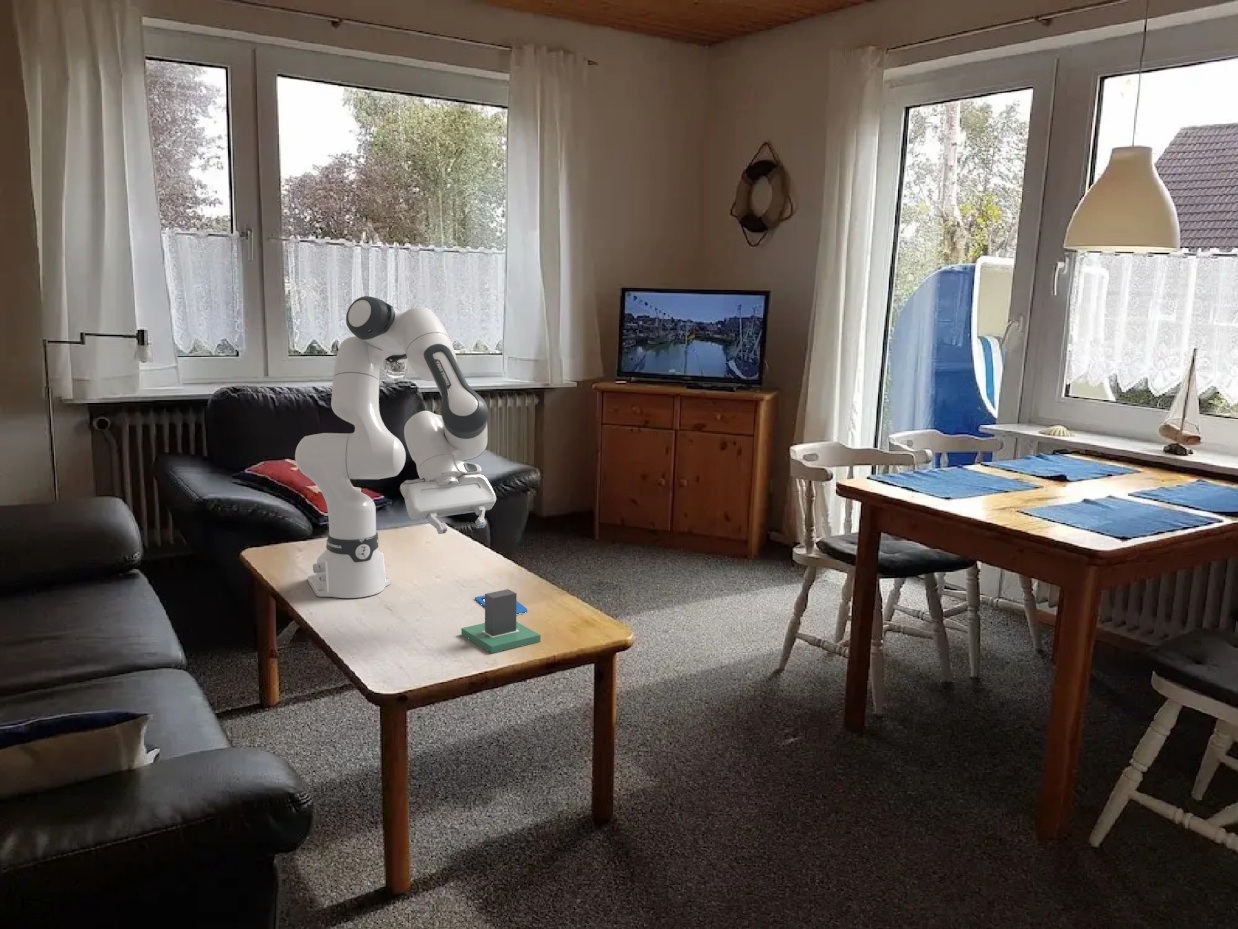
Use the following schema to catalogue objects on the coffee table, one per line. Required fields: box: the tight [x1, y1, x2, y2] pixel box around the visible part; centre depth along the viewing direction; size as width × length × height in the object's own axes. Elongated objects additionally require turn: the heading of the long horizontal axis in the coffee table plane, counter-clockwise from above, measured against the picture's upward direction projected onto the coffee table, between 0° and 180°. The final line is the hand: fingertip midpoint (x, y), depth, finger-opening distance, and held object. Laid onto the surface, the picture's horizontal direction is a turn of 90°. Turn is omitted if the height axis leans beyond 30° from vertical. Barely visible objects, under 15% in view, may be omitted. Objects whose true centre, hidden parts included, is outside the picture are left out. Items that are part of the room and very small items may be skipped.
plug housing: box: [484, 588, 517, 636], centre depth 206 cm, size 3×6×8 cm, turn 128°
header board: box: [460, 621, 541, 654], centre depth 207 cm, size 13×12×4 cm
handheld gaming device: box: [474, 595, 528, 614], centre depth 228 cm, size 8×1×15 cm
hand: (463, 529), depth 206 cm, fingers open, 8 cm apart
